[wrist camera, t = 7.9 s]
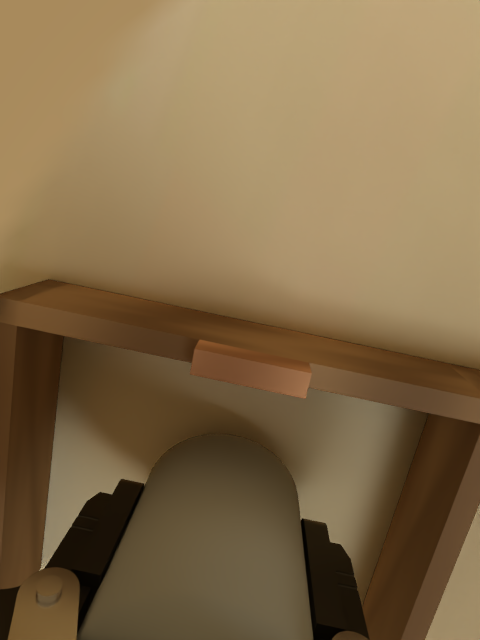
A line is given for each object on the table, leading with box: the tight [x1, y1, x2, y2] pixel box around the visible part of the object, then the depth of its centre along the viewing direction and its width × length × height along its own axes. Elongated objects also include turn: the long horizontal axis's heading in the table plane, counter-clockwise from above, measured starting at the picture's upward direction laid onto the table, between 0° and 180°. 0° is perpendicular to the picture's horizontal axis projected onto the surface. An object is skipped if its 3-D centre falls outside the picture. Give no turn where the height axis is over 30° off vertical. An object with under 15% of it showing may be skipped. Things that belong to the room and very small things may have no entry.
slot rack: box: [0, 279, 480, 640], centre depth 14 cm, size 24×12×4 cm, turn 79°
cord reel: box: [76, 434, 313, 640], centre depth 11 cm, size 5×5×7 cm
